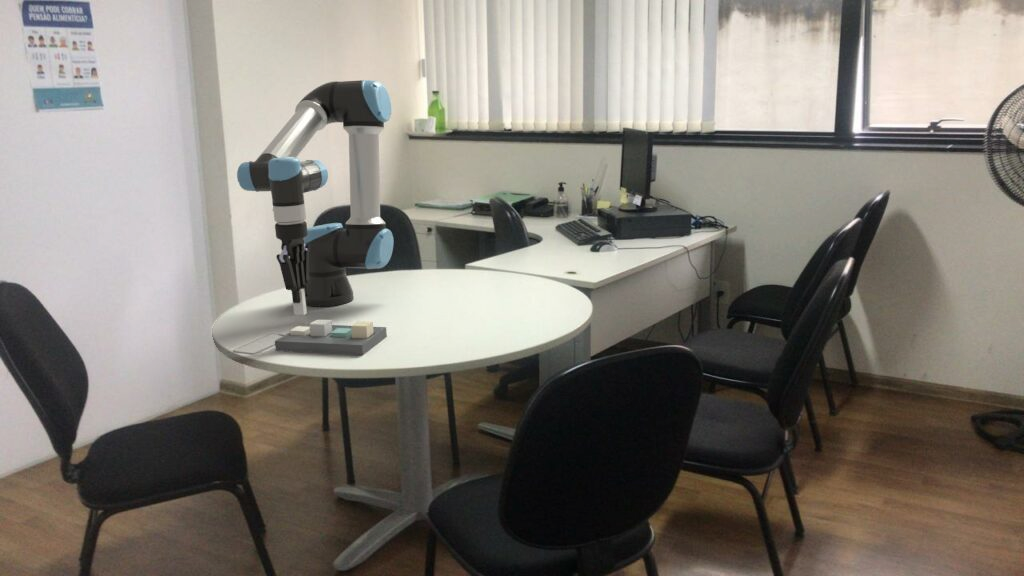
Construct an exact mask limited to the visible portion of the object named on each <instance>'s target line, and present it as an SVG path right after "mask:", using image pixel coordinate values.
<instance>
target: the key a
mask: <svg viewBox="0 0 1024 576" xmlns="http://www.w3.org/2000/svg"><path fill="white" fill-rule="evenodd" d="M289 332H290V335H298V336H306V335H307V334H309V333H310V327H304V326H301V325H300V326H299V325H297V326H295V327H294V328H292V329H289Z"/></svg>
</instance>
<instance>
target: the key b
mask: <svg viewBox="0 0 1024 576" xmlns="http://www.w3.org/2000/svg"><path fill="white" fill-rule="evenodd" d="M332 323H333V322H332V319H316V320H314V321H312V322H311V323H308V324H309V326H310V336H323V337H325V336H327V335H328V334H330V333H331V332H332V325H333V324H332Z"/></svg>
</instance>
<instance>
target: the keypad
mask: <svg viewBox="0 0 1024 576" xmlns="http://www.w3.org/2000/svg"><path fill="white" fill-rule="evenodd" d="M309 324H310V323H303V324H302V325H300V326H304V327H310V326H309ZM337 328H351V325H341V324H340V325H339V324H338V325H337V324H332V331H334V330H335V329H337ZM373 331H374V334H373V335H371V336H370V337H369V338H352V334H351V335H350V336H349V337H347V338H343V337H331V333H330V334H328V335H327V336H325V337H323V336H310V333H309V334H307V335H306V336H298V335H290V331H289V332H288V333H286V334H283V335H284V336H283V337H281V338H279V339H277V340H276V341H275V346H274V348H275V352H291V353H292V352H295V353H312V354H314V353H315V354H334V355H352V356H353V355H356V356H364V355H365V354H366V353H367V352H369V351H370V350H371V349H374V347H375V346H377V345H378V344H379V343H380V342H382V341H383V340H384V339H386V338H387V337H388V335H387V333H388V332H387V327H386V326H373Z"/></svg>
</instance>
